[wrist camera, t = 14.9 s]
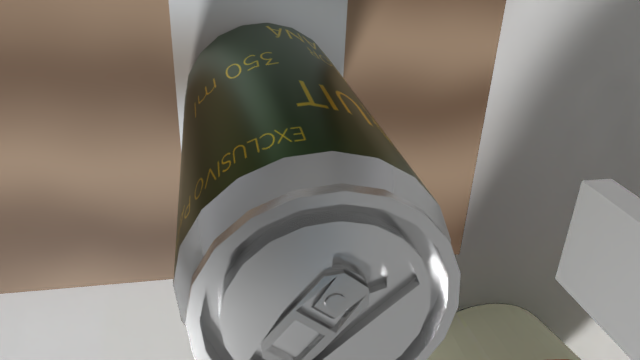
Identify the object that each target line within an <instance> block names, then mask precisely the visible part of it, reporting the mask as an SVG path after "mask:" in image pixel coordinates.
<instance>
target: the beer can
mask: <svg viewBox="0 0 640 360" xmlns="http://www.w3.org/2000/svg"><path fill="white" fill-rule="evenodd" d="M460 277H461V273H460V270H459V267H458V264H457V261H456V258H455V255H454V252H453V249H452V246H451V238H450V235H449V232H448V229H447V226H446V223H445V220H444V217H443V214H442V211H441V208H440V205H439V204H438V203H437V201H436V200H435V199H434V197H433V196H432V195H431V193H430V192H429V191H428V189H427V188H426V187H425V186H424V184H423V183H422V182H421V180H420V179H419V178H418V176H417V175H416V174H415V172H414V171H413V170H412V168H411V167H410V166H409V164H408V163H407V162H406V160H405V159H404V158H403V156H402V155H401V154H400V152H399V151H398V150H397V148H396V147H395V146H394V144H393V143H392V142H391V140H390V139H389V138H388V136H387V135H386V134H385V132H384V131H383V130H382V128H381V127H380V126H379V124H378V123H377V122H376V120H375V119H374V118H373V117H372V115H371V114H370V113H369V111H368V110H367V109H366V107H365V106H364V105H363V103H362V102H361V101H360V99H359V98H358V97H357V95H356V94H355V93H354V91H353V90H352V89H351V87H350V86H349V85H348V83H347V82H346V81H345V79H344V78H343V77H342V75H341V74H340V73H339V71H338V70H337V69H336V67H335V66H334V65H333V63H332V62H331V61H330V59H329V58H328V57H327V56H326V55H325V53H324V52H323V51H322V50H321V49H320V48H319V46H318V45H317V44H316V43H315V42H314V41H313V40H312V39H310V38H308V37H307V36H305V35H303V34H302V33H300V32H298V31H297V30H295V29H293V28H290V27H286V26H281V25H277V24H272V23H259V24H249V25H242V26H239V27H237V28H235V29H233V30H231V31H228V32H226V33H224V34H222V35H219V36H218V37H217V38H216V39H215V40H214V41H213V42H212V43H210V44H209V45H208V46H207V47H206V48H205V49H204V50H203V51H202V52H201V53H200V54H199V56H198V58H197V60H196V62H195V64H194V65H193V67H192V69H191V71H190V73H189V75H188V81H187V88H186V94H185V103H184V119H183V135H182V151H181V167H180V184H179V200H178V216H177V232H176V248H175V264H174V280H173V287H174V291H175V295H176V299H177V304H178V308H179V312H180V316H181V321H182V322H183V323H184V325H185V326H186V328H187V332H188V337H189V341H190V345H191V350H192V354H193V357H194V358H195V359H196V360H427V359H428V358H429V356H430V355H431V354H432V353H433V352H434V350H435V349H436V348H437V347H438V346H439V345H440V343H441V342H442V341H443V340H444V339H445V336H446V334H447V332H448V329H449V327H450V325H451V323H452V320H453V318H454V316H455V313H456V311H457V309H458V305H459V291H460Z"/></svg>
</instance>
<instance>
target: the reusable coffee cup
mask: <svg viewBox="0 0 640 360" xmlns="http://www.w3.org/2000/svg"><path fill="white" fill-rule="evenodd" d="M427 360H581V359H580V358H579V357H578V356H577V355H576V354H575V353H573V352H572V351H571V350H570V349H569V348H568V347H567V346H566V345H565V344H564V343H563V342H562V341H561V340H560V339H559V338H558V337H557V336H556V335H555V334H554V333H552V332H551V331H550V330H549V329H548V328H547V327H546V326H545V325H544V324H543V323H542V322H541V321H540V320H539V319H538V318H537V317H535V316H534V315H533V314H532V313H530V312H529V311H527V310H525V309H522V308H520V307H518V306H513V305H508V304H485V305H479V306H473V307H470V308H467V309H464V310H461V311H458V312H456V313H455V316H454V318H453V320H452V323H451V325H450V327H449V329H448V332H447V334H446V336H445V339H444V340H443V341H442V342H441V343H440V345H439V346H438V347H437V348H436V349H435V350H434V352H433V353H432V354H431V355H430V356H429V358H428V359H427Z"/></svg>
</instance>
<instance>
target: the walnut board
mask: <svg viewBox="0 0 640 360" xmlns="http://www.w3.org/2000/svg"><path fill="white" fill-rule="evenodd" d="M505 4H506V0H0V294H3V293H14V292H26V291H38V290H49V289H61V288H73V287H84V286H96V285H107V284H119V283H131V282H142V281H154V280H166V279H174V264H175V248H176V232H177V216H178V200H179V184H180V167H181V151H182V135H183V119H184V103H185V94H186V88H187V81H188V75H189V73H190V71H191V69H192V67H193V65H194V64H195V62H196V60H197V58H198V56H199V54H200V53H201V52H202V51H203V50H204V49H205V48H206V47H207V46H208V45H209V44H210V43H212V42H213V41H214V40H215V39H216V38H217V37H218V36H219V35H222V34H224V33H226V32H228V31H231V30H233V29H235V28H237V27H239V26H242V25H249V24H259V23H272V24H277V25H281V26H286V27H290V28H293V29H295V30H297V31H298V32H300V33H302V34H303V35H305V36H307V37H308V38H310V39H312V40H313V41H314V42H315V43H316V44H317V45H318V46H319V48H320V49H321V50H322V51H323V52H324V53H325V55H326V56H327V57H328V58H329V59H330V61H331V62H332V63H333V65H334V66H335V67H336V69H337V70H338V71H339V73H340V74H341V75H342V77H343V78H344V79H345V81H346V82H347V83H348V85H349V86H350V87H351V89H352V90H353V91H354V93H355V94H356V95H357V97H358V98H359V99H360V101H361V102H362V103H363V105H364V106H365V107H366V109H367V110H368V111H369V113H370V114H371V115H372V117H373V118H374V119H375V120H376V122H377V123H378V124H379V126H380V127H381V128H382V130H383V131H384V132H385V134H386V135H387V136H388V138H389V139H390V140H391V142H392V143H393V144H394V146H395V147H396V148H397V150H398V151H399V152H400V154H401V155H402V156H403V158H404V159H405V160H406V162H407V163H408V164H409V166H410V167H411V168H412V170H413V171H414V172H415V174H416V175H417V176H418V178H419V179H420V180H421V182H422V183H423V184H424V186H425V187H426V188H427V189H428V191H429V192H430V193H431V195H432V196H433V197H434V199H435V200H436V201H437V203H438V204H439V205H440V208H441V211H442V214H443V217H444V220H445V223H446V226H447V229H448V232H449V235H450V238H451V246H452V249H453V252H454V255H456V254H459V253H460V248H461V242H462V237H463V231H464V226H465V221H466V215H467V210H468V204H469V199H470V193H471V188H472V183H473V177H474V172H475V166H476V161H477V155H478V150H479V145H480V139H481V134H482V128H483V123H484V117H485V112H486V107H487V101H488V96H489V90H490V85H491V80H492V74H493V69H494V63H495V58H496V52H497V47H498V42H499V36H500V31H501V25H502V20H503V14H504V9H505Z"/></svg>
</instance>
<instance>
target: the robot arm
mask: <svg viewBox="0 0 640 360" xmlns="http://www.w3.org/2000/svg"><path fill="white" fill-rule="evenodd" d="M555 279H556V280H557V281H558V282H559V283H560V285H561V286H562V287H563V288H564V289H565V290H566V291H567V292H568V293H569V294H570V295H571V296H572V297H573V298H574V299H575V300H576V301H577V303H578V304H579V305H580V306H581V307H582V308H583V309H584V310H585V311H586V312H587V313H588V314H589V315H590V316H591V317H592V318H593V319H594V321H595V322H596V323H597V324H598V325H599V326H600V327H601V328H602V329H603V330H604V331H605V332H606V333H607V334H608V335H609V336H610V337H611V338H612V340H613V341H614V342H615V343H616V344H617V345H618V346H619V347H620V348H621V349H622V350H623V351H624V352H625V353H626V354H627V355H628V356H629V358H630V359H631V360H640V198H639V197H638V196H637V195H635V194H634V193H632V192H631V191H629V190H628V189H626V188H625V187H623V186H622V185H620V184H619V183H617V182H616V181H614V180H613V179H612V178H611V179H597V180H582V183H581V186H580V190H579V193H578V197H577V201H576V204H575V208H574V212H573V215H572V219H571V222H570V226H569V230H568V233H567V237H566V241H565V244H564V248H563V252H562V255H561V259H560V262H559V266H558V270H557V273H556V277H555Z"/></svg>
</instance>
